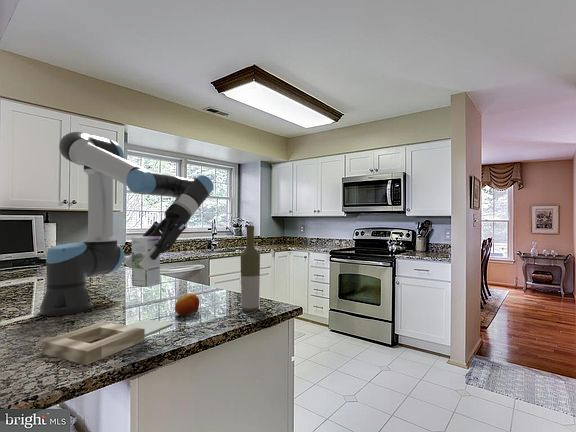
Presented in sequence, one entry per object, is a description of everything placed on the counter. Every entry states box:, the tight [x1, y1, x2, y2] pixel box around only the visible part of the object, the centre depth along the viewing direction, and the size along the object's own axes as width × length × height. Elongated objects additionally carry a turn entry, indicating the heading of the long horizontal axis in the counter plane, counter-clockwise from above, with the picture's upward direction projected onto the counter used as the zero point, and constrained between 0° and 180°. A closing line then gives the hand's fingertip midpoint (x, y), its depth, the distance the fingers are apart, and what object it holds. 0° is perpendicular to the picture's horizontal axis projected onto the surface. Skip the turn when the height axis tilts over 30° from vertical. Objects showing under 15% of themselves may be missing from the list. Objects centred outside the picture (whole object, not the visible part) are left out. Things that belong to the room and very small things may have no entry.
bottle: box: [240, 225, 261, 312], centre depth 117 cm, size 7×7×30 cm
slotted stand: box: [41, 321, 146, 366], centre depth 83 cm, size 16×16×3 cm
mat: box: [126, 318, 173, 337], centre depth 97 cm, size 11×11×1 cm
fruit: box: [174, 293, 200, 317], centre depth 112 cm, size 8×8×8 cm
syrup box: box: [131, 235, 161, 288], centre depth 97 cm, size 6×6×14 cm
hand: (135, 266), depth 94 cm, fingers closed on syrup box, 7 cm apart
